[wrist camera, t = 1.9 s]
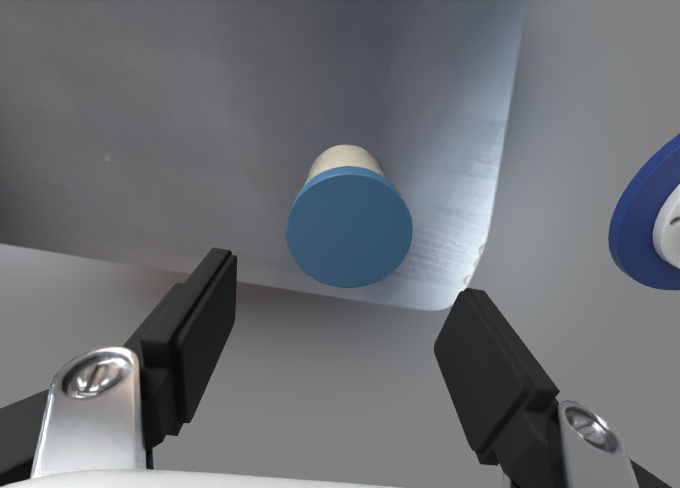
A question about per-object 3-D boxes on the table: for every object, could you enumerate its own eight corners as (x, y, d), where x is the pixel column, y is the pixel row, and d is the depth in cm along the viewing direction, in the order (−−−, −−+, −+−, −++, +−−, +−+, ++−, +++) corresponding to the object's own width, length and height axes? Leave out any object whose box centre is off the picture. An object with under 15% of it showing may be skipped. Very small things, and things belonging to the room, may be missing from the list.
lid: (404, 156, 15) (411, 163, 13) (409, 264, 18) (416, 280, 16) (277, 176, 15) (271, 185, 14) (304, 278, 18) (301, 294, 17)
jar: (379, 138, 22) (403, 165, 14) (386, 213, 25) (409, 272, 17) (300, 151, 23) (278, 185, 14) (316, 223, 25) (304, 286, 17)
